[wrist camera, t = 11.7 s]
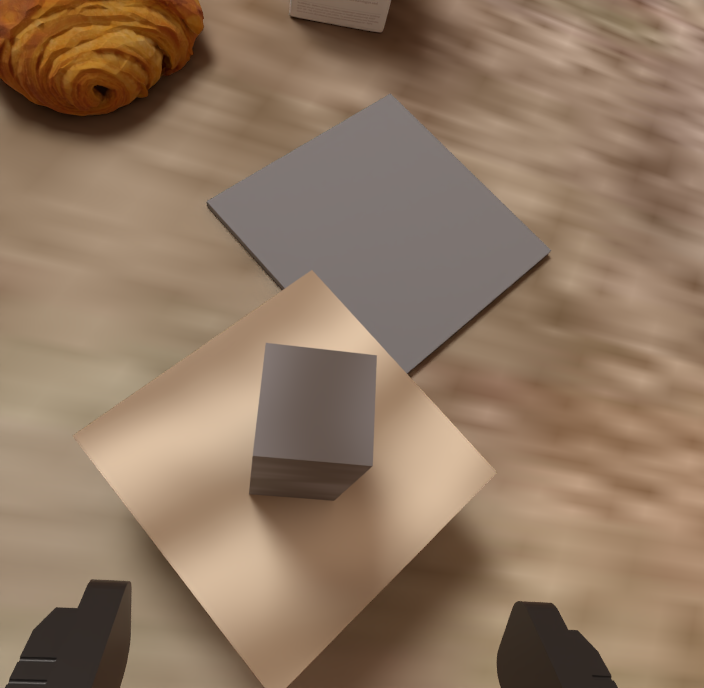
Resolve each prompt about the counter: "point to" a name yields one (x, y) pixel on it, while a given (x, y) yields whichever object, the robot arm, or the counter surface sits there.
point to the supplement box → (344, 12)
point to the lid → (286, 474)
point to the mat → (383, 228)
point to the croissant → (93, 49)
